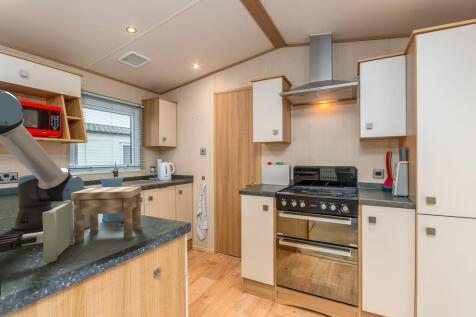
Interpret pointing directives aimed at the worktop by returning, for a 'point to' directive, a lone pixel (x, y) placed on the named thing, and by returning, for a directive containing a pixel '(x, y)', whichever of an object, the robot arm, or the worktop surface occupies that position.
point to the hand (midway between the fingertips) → (51, 235)
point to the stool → (107, 208)
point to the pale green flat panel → (57, 230)
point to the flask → (86, 221)
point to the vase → (112, 183)
